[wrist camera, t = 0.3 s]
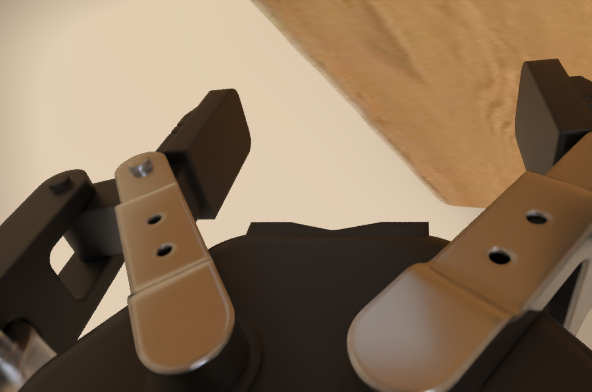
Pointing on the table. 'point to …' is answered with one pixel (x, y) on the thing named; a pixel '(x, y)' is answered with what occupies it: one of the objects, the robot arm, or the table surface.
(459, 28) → the table surface
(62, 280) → the robot arm
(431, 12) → the table surface
